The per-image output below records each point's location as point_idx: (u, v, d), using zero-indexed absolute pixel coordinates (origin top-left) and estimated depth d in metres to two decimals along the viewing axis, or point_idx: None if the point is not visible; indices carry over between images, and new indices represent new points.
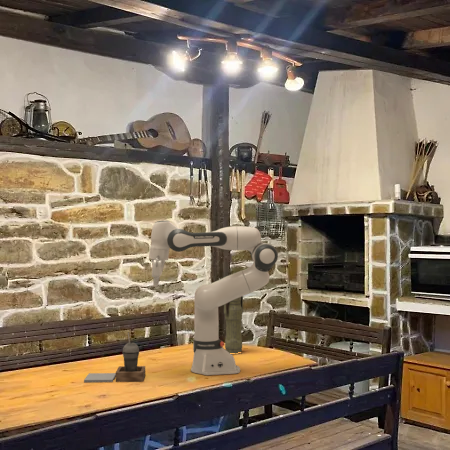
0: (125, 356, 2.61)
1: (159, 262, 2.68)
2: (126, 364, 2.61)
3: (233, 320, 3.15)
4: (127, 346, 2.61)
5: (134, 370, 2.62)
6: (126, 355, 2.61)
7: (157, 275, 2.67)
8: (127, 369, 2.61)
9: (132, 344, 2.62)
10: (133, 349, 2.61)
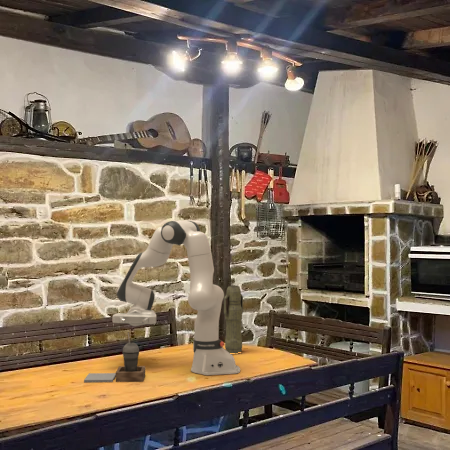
0: (125, 356, 2.61)
1: None
2: (126, 364, 2.61)
3: (233, 320, 3.15)
4: (127, 346, 2.61)
5: (134, 370, 2.62)
6: (126, 355, 2.61)
7: (112, 317, 2.80)
8: (127, 369, 2.61)
9: (132, 344, 2.62)
10: (133, 349, 2.61)
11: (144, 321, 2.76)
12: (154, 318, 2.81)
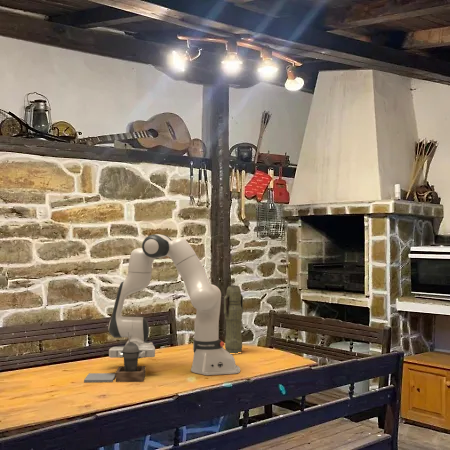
0: (125, 356, 2.61)
1: None
2: (126, 364, 2.61)
3: (233, 320, 3.15)
4: (127, 346, 2.61)
5: (134, 370, 2.62)
6: (126, 355, 2.61)
7: (109, 351, 2.68)
8: (127, 369, 2.61)
9: (132, 344, 2.62)
10: (133, 349, 2.61)
11: (140, 355, 2.63)
12: (152, 351, 2.68)
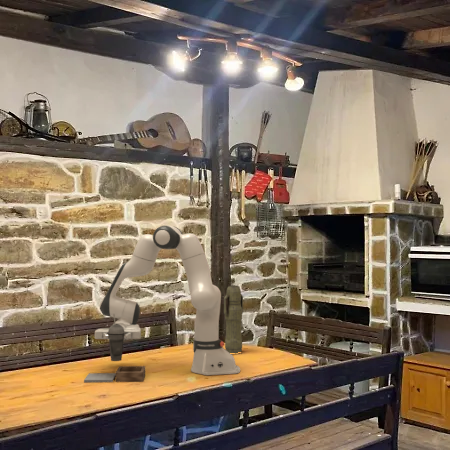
0: (110, 337, 2.61)
1: None
2: (111, 345, 2.61)
3: (233, 320, 3.15)
4: (112, 327, 2.61)
5: (119, 351, 2.62)
6: (111, 336, 2.60)
7: None
8: (112, 350, 2.61)
9: (117, 325, 2.62)
10: (119, 330, 2.61)
11: (126, 336, 2.63)
12: (138, 333, 2.68)
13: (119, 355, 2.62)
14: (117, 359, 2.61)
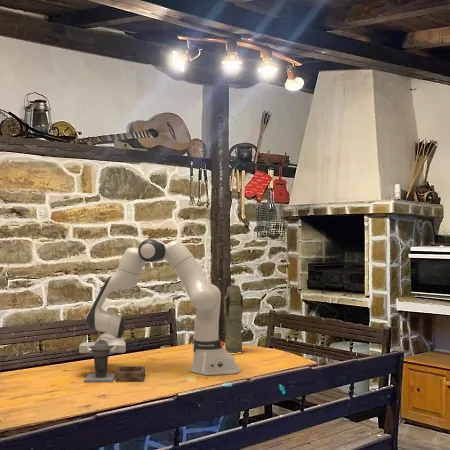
0: (95, 354, 2.60)
1: None
2: (96, 362, 2.61)
3: (233, 320, 3.15)
4: (97, 344, 2.61)
5: (104, 368, 2.61)
6: (96, 353, 2.60)
7: (79, 347, 2.68)
8: (97, 367, 2.61)
9: (102, 342, 2.62)
10: (103, 347, 2.60)
11: (112, 350, 2.63)
12: (123, 347, 2.68)
13: (103, 371, 2.61)
14: (101, 375, 2.61)
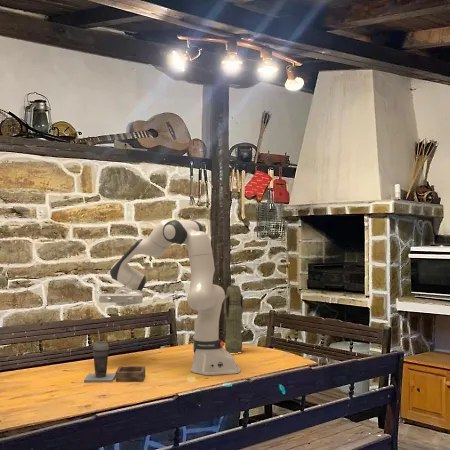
0: (95, 354, 2.60)
1: None
2: (96, 362, 2.61)
3: (233, 320, 3.15)
4: (97, 344, 2.61)
5: (104, 368, 2.61)
6: (96, 353, 2.60)
7: (99, 297, 2.86)
8: (97, 367, 2.61)
9: (102, 342, 2.62)
10: (103, 347, 2.60)
11: (130, 299, 2.81)
12: (140, 297, 2.86)
13: (103, 371, 2.61)
14: (101, 376, 2.61)
